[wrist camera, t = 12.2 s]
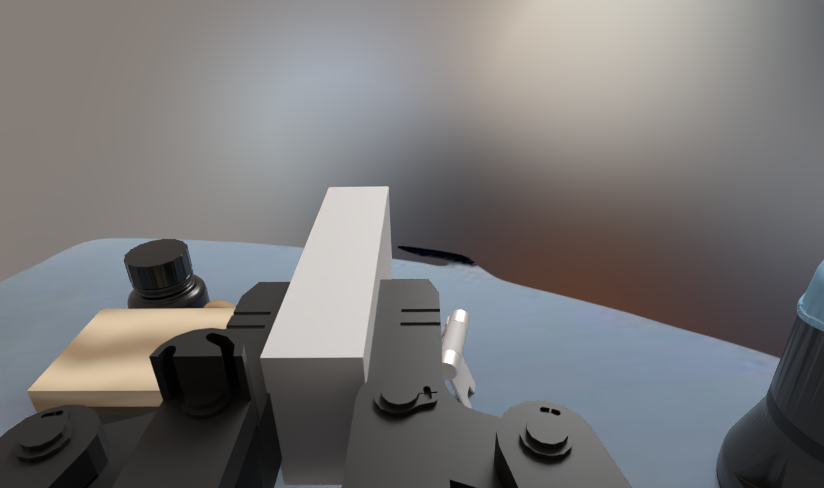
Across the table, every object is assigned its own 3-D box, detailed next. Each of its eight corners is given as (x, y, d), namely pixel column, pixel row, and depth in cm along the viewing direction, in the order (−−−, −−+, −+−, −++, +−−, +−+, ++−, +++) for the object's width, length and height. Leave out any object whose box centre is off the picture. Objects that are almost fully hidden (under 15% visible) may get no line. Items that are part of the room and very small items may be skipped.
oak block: (145, 433, 54) (101, 309, 47) (284, 433, 53) (261, 307, 46) (85, 535, 44) (19, 399, 37) (254, 536, 44) (220, 398, 37)
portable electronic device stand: (409, 363, 62) (408, 303, 58) (477, 373, 61) (480, 312, 57) (390, 419, 55) (386, 354, 51) (467, 431, 53) (469, 365, 49)
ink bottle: (132, 330, 69) (106, 247, 63) (202, 306, 74) (183, 227, 68) (151, 371, 62) (123, 282, 56) (227, 341, 67) (207, 256, 61)
